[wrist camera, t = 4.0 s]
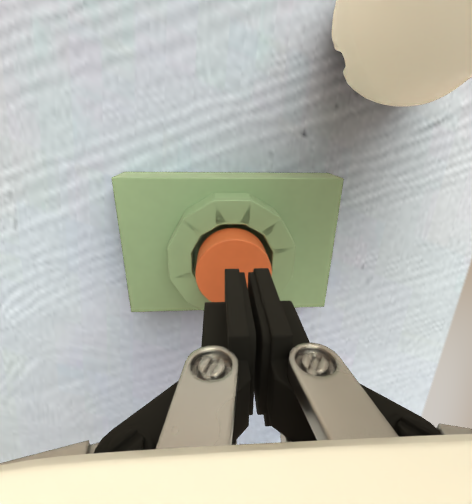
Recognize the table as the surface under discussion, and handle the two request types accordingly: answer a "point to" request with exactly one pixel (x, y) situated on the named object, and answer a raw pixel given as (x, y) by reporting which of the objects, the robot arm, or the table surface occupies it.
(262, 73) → the table surface
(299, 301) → the button housing
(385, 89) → the water bottle
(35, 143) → the table surface
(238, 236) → the orange button cap
